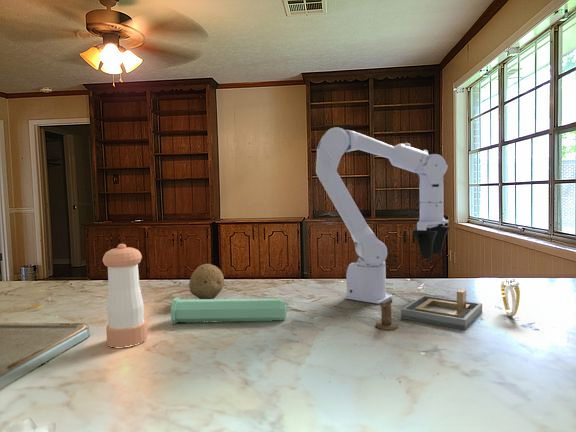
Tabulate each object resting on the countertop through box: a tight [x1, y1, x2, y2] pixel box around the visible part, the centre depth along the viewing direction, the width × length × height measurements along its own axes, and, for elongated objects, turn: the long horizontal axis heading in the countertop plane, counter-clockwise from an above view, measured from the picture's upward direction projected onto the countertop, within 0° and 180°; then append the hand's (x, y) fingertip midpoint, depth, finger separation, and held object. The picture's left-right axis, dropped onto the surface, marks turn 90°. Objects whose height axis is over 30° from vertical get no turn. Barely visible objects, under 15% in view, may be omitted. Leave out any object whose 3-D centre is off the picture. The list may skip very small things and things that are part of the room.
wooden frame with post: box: [415, 288, 470, 318], centre depth 89 cm, size 9×9×5 cm
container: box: [170, 297, 288, 324], centre depth 90 cm, size 6×6×25 cm
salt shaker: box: [102, 243, 148, 347], centre depth 79 cm, size 7×7×19 cm
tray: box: [400, 295, 483, 331], centre depth 89 cm, size 13×13×2 cm
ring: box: [500, 278, 521, 317], centre depth 87 cm, size 7×3×8 cm, turn 165°
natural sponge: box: [188, 263, 225, 299], centre depth 105 cm, size 9×9×10 cm
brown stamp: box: [375, 298, 399, 331], centre depth 83 cm, size 4×4×5 cm
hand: (431, 255), depth 104 cm, fingers open, 7 cm apart
